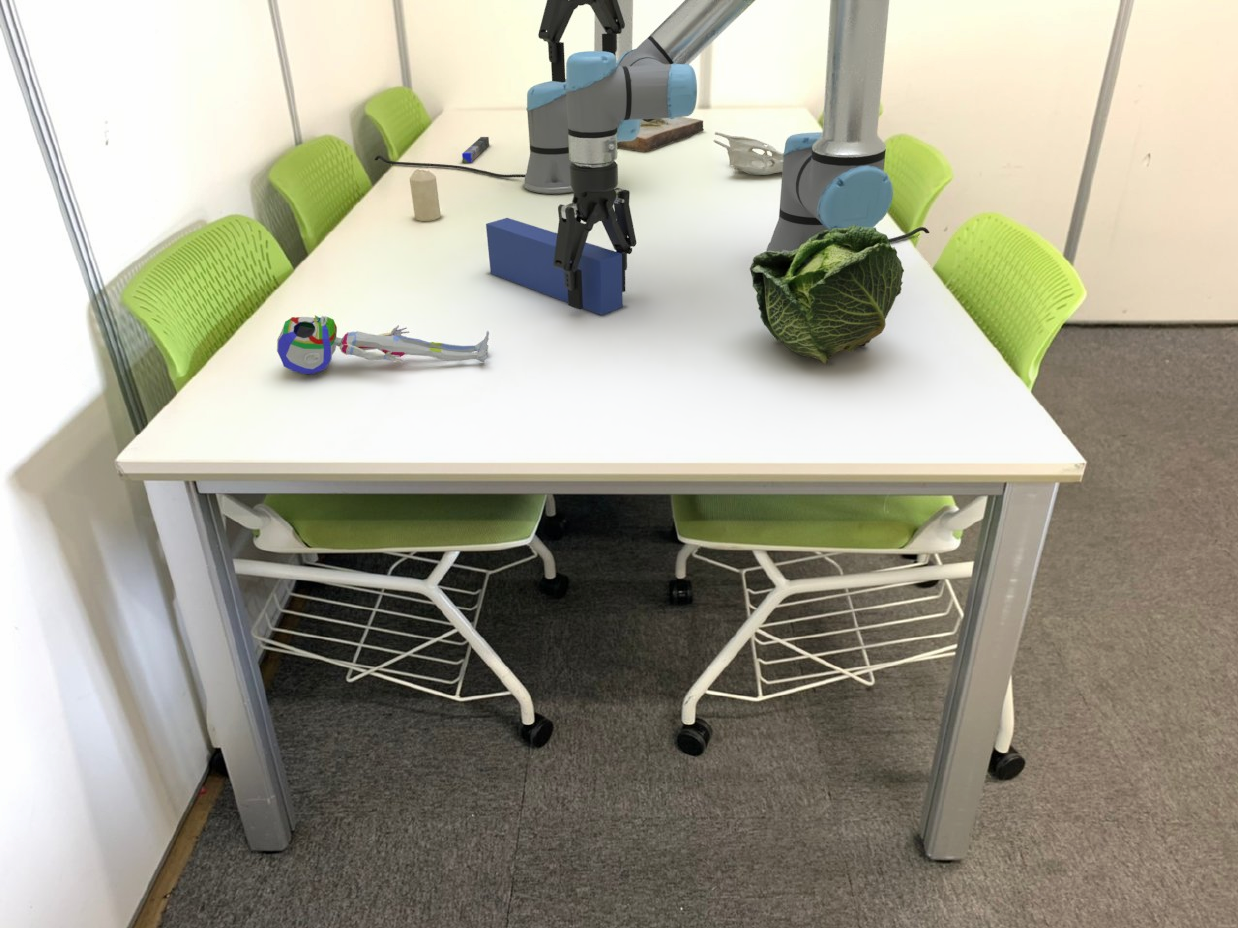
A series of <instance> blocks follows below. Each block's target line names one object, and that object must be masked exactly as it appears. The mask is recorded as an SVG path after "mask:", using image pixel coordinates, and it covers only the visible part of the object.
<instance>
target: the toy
mask: <svg viewBox="0 0 1238 928" xmlns="http://www.w3.org/2000/svg"><path fill="white" fill-rule="evenodd" d="M399 327H400V325H399V324H398V325H396V326H395V327H394V328H393V329H392V330H391V331H390V332H385V333H381V334H373V333H367V332H363V331H347V332H346V333H345V334H344V335H343V337H337V335H338V334H337V332H338V327H337V325H336V323H335V319H333V318H331V317H328V316H325V315H321V317H319V316H317V315H315V314H314V317H311V316H296V317H295V316H292V317H290V318H289V319H287V320H286V321H284V324H283V325H282V329H281V331H280V333H279V335H278V337H277V338H276V339H277V340H276V352H277V354H278V356H279V358H280V360H281V363H282V365H283V367H284V368H286V369H287V370H290V371H292V372H296V373H300V374H305V375H306V374H307V375H315V374H317V373H319V372H321V371H324V370H326V369H327V368H328V365H329V364H330V363H331V361H332V359H333V355H334V353H335V352H336V349H337V347H338V348H339V351H340V352H341V353H342V354H344V355H345V356H347V355H348V356H349V355H350V356H355V357H359V358H364V359H366V360H369V361H382V360H383V361H384V360H386V361H392V362H396V363H399V364H401V363H402V362H403V361H404V360H403V359H402V357H404V356H405V355H406V356H407V355H409V356H421V357H431V358H436V359H439V360H442V361H446V362H461V361H467V360H474V359H475V360H477V361H479V362H481V363H485V361H486V360H487V357H488V353H489V345H488V342H489V336H490V331H489V330H486V334H485V337H484V339H482V340H481V341H480V342H478V343H477V344H475V345H458V344H450V343H443V342H435V341H430V342H429V341H426V340H422V339H419V338H413V337H407V336H406V335H405V336H404V335H402V334H409V333H410V331H404V330H407V329H408V327H403V328H399ZM372 350H378V351H381V352H382V353H380V352H379V353H378V352H375V351H372Z"/></svg>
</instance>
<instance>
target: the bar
mask: <svg viewBox="0 0 1238 928" xmlns="http://www.w3.org/2000/svg"><path fill="white" fill-rule="evenodd" d="M485 229H486V239H487V250H488V260H489V271H490V274H491V275H493V276H496V277H498V278H501V279H503V280H507V281H509V282H512V283H514V284H517V285H519V286H523V287H525V288H528V289H531V290H533V291H536V292H539V293H541V294H544V295H546V296H549V297H551V298H554V299H557V300H560V301H561V302H565V303H567V304H568V289H566V287H565V277H564V270H562V269H559V268H556V267H554V265H553V263H554V256H555V248H556V240H557V233H558V232H554V231H551V230H547V229H544V228H541V227H538V226H535V225H533V224H528V223H525V222H522V221H519V220H516V219H514V218H513V219H512V218H510V217H505V218H501V219H498V220H494V221H490V222H488V223H487V222H486V223H485ZM570 263H572V261H570ZM577 269H579V270H582V297H583V308H582V309H584V310H585V311H588V312H591V313H593V314H597V315H600V316H605V315H607V314H610V313H612V312H614V311H617V310H619V309H621V308H623V302H624V301H623V293H622V254H621V253H618V252H616V250H612V249H609V248H605V247H602V246H599V245H596V244H593V243H589V242H586V243H585V246H584V249H583V252H582V256H581V259H580V262H579V265H578V268H577Z"/></svg>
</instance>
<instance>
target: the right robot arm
mask: <svg viewBox="0 0 1238 928" xmlns="http://www.w3.org/2000/svg"><path fill="white" fill-rule="evenodd" d="M754 2H756V0H683V2H682V3H681V4H679V6H678V7H676V9H675V10H674V11H673V12H671V13H670V14H669V15H668V17H666V18H665V20H664V21H663V22H661V23H660V24H659V25H658V26H657V27H656V29H654V30H653V31H652V32H651V33H650V35H649V36H647V38H645V39H644V40H643V41H642V42H641V43H640V44H639V45H638V46H637V47H636V48H634V49H632V50H630V51H627V52H625V53H624V54H623V55H622V56H621V57H620V58H619V59H618V61H617V63H616V57H615V55H614V54H613V53H610V52H604V51H599V52H597V51H594V50H588V51H586V50H585V51H579V52H575V53H572V54H570V55H569V56H568V58H567V59H566V63H565V79H566V86H565V88H566V100H567V118H568V142H569V160H571V161H572V163H571V165H570V166H569V167H570V185H571V187H572V189H573V192H572V193H573V198H572V200H571V202H570V203H568V204H559V205H558V206H557V213H558V225H557V226H558V228H557V232H556V233H557V240H556V248H555V256H554V263H553V265H554V267H556V268H559V269H562V270H564V277H565V287H566V289H568V303H567V304H568V306H569V307H571V308H574V309H577V310H582V309H583V297H582V270H579V269H577V268H578V265H579V262H580V259H581V256H582V252H583V249H584V246H585V243H587V240H588V236H589V233H590V232H591V231H592V230H593V228H594V225H595V224H598V223H599V222H601V223H602V226H603V228H604V230H605V232H606V234H607V236H608V239H609V241H610V243H611V245H612V247H613V249H614V251H615V252H618V253H621V254H622V294H623V293H625V292H626V271H627V269H628V255H632V252H633V248H634V247H636V245H637V238H636V233H635V227H634V222H633V218H632V217H633V216H632V211H631V208H630V197H631V196H630V195H631V192H630V190H627V189H624V188H619V187H618V186H619V165H618V163H617V162H616V160H617V159H618V147H617V121H618V120H636V119H662V118H670V119H674V118H678V117H686V118H687V117H689V116H691V115H692V114H693V113H694V111H695V109H696V106H697V100H698V99H697V98H698V82H697V75H696V71H695V69H694V67H693V66H692V65H690V64H691V63H692V62H693V61H694V60H696V58H697V57H698V56H700V55H701V54H702V53H703V52H704V51H705V49H707V48H708V47H709V46H710V45H711V44H712V43H713V42H714V41H715V40H716V39H717V38H718V37H719V36H720V35H722V33H723V32H725V30H726V29H727V28H728V27H729V26H731V25H732V24H733V22H735V21H736V20H737V19H738V18H739V17H740V16H741V15H742V14H743V13H744V12H745V11H746V10H747V9H749V7H751V6H752V4H753V3H754ZM889 10H890V0H829V16H828V34H827V49H826V51H827V52H826V53H827V54H826V67H825V81H824V82H825V84H824V85H825V86H824V100H823V120H822V131H818V132H802V133H795V134H791V135H790V136H788V137H787V138H786V141H785V144H784V151H783V152H782V153H783V170H782V172H781V184H780V185H781V186H780V197H779V198H780V199H779V211H778V212H779V213H778V218H777V219H778V220H777V222H776V225H775V226H774V230H773V233H772V236H771V239H770V241H769V243H768V244H767V247H766V251H765V252H767V251H775V252H776V251H781V252H791V251H793V250H796V249H798V248H800V246H801V245H802V244H804V243H806V241H807V240H808V239H809V238H811V237H813V236H815V235H817V234H818V233H820V232H822V231H825V230H831V229H834V228H838V229H841V228H848V227H850V226H852V225H856V226H855V227H857V226H861V227H873V228H875V226H876V225H878V224H879V222H881V221H882V220H883V219H884V218H885V217H886V215H887V214H888V212H889V210H890V208H891V205H892V202H893V198H894V197H893V196H894V187H893V184H892V181H891V179H890V177H889V175H888V173H886V172H885V160H886V153H887V151H886V150H887V144H886V143H885V142H884V141H883V139H882V138H880V136H879V134H878V131H879V119H880V109H881V97H882V86H883V77H884V76H883V74H884V63H885V54H886V44H887V43H886V42H887V31H888V22H889V21H888V20H889ZM919 232H924V233H925V234H930V233H931V232H930V231H929V229H928V228H926V227H924V226H920V227H917V228H915V229H913V230H912V231H910V232H908V233H905V234H902V235H899V236H895V237H892V238H888V239H889V243H894V242H897V241H901V240H904V239H907V238H910V237H912V236H914V235H915V234H917V233H919ZM570 261H572V263H570Z"/></svg>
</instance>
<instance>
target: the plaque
mask: <svg viewBox="0 0 1238 928" xmlns="http://www.w3.org/2000/svg"><path fill="white" fill-rule="evenodd" d="M704 130H705V129H704V120H702V119H698V118H693V117H687V116H686V117H678V118H674V119H670V118H662V119H642V121H641V126H640V131H639V134H638V136H637V137H636V139H634V140H633V141H620V142H617V148H620V149H625V150H632V151H640V152H648V151H654V150H656V149H659V148H662V147H663V146H664V147H665V146H667V145H670V144H672V143H676V142H680V141H682V140H684V139H687V138H691V137H692V136H694V135H696V134H698V133H700V132H704Z"/></svg>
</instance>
